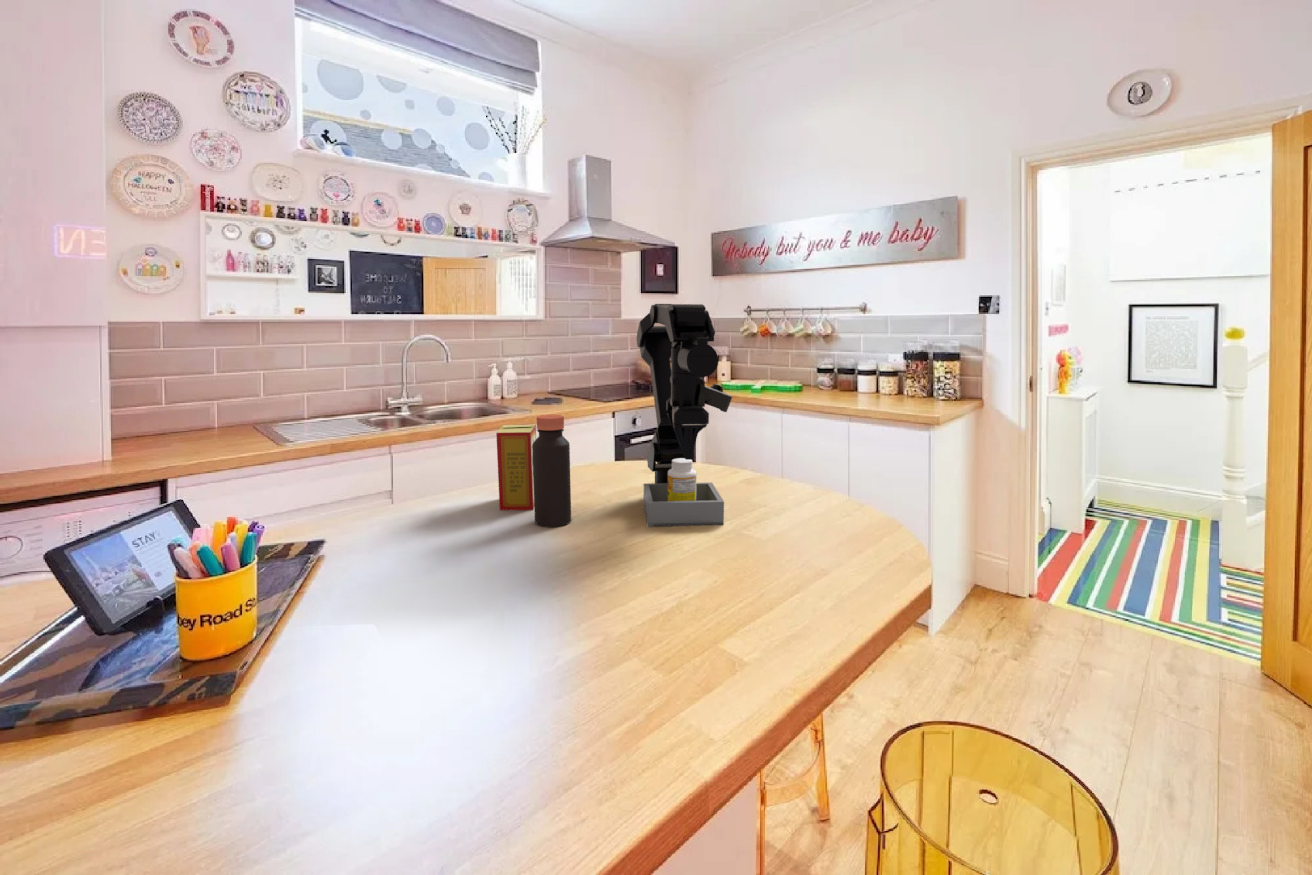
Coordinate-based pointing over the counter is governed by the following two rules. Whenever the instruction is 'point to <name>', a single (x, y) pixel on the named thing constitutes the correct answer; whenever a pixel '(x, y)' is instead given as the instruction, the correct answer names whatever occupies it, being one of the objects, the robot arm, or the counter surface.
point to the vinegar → (551, 473)
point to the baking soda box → (516, 466)
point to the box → (683, 507)
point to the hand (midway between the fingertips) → (685, 454)
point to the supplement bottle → (682, 481)
